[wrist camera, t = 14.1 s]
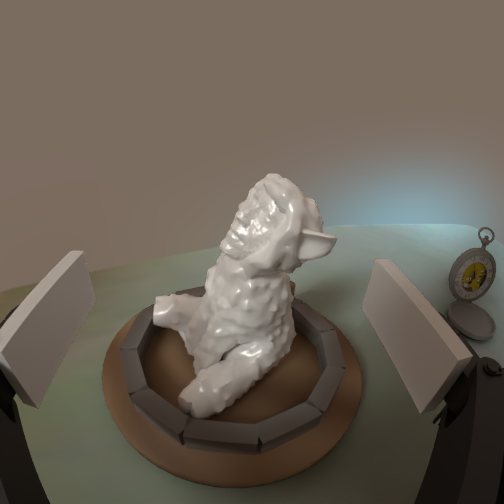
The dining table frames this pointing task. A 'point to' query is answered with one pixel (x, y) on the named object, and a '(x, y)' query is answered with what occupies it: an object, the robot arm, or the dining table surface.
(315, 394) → the brown wooden disc
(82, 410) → the dining table surface
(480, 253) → the pocket watch
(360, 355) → the dining table surface
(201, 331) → the seated beast figurine
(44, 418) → the dining table surface
